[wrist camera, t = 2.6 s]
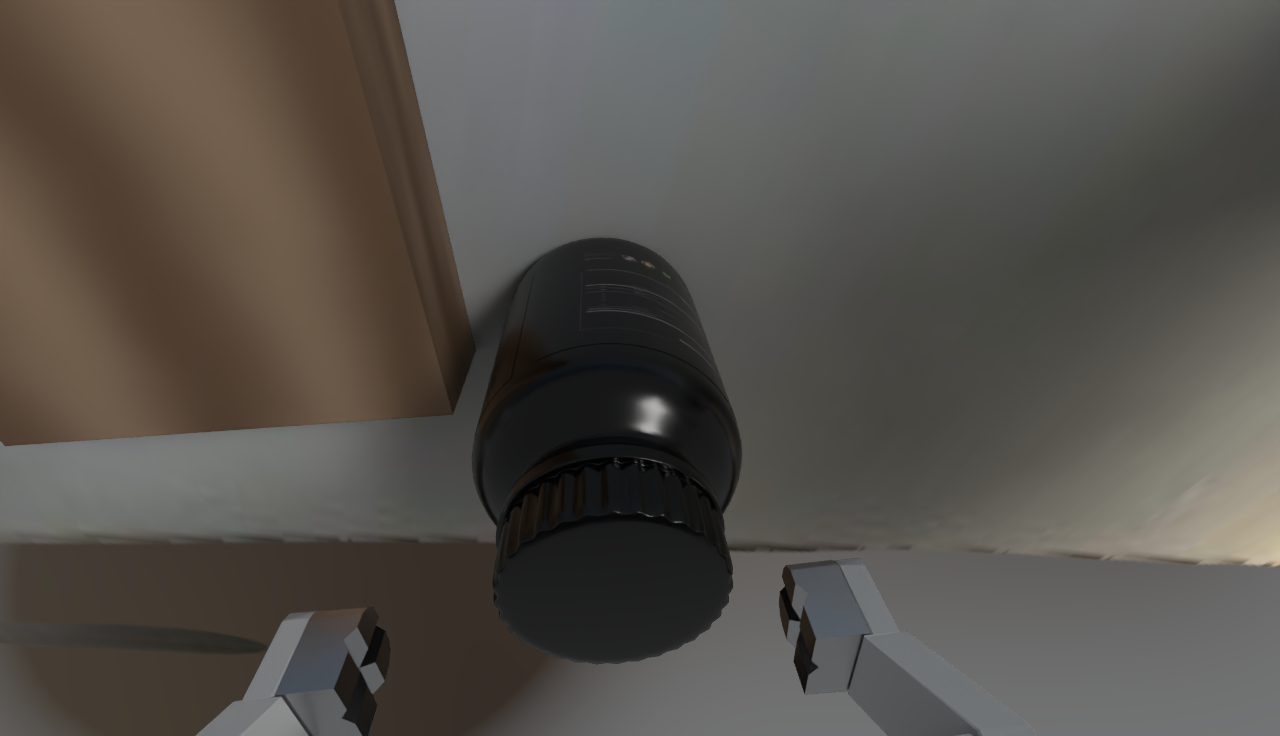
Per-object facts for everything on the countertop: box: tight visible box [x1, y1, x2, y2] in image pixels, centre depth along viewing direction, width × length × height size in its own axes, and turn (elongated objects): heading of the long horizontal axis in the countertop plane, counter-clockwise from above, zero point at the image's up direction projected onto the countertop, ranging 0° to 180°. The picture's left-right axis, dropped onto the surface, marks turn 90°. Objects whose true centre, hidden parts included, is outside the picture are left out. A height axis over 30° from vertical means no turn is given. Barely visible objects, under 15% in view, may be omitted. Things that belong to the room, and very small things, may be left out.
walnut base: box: [0, 0, 475, 446], centre depth 16 cm, size 14×14×4 cm
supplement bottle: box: [472, 238, 742, 664], centre depth 16 cm, size 7×7×12 cm
